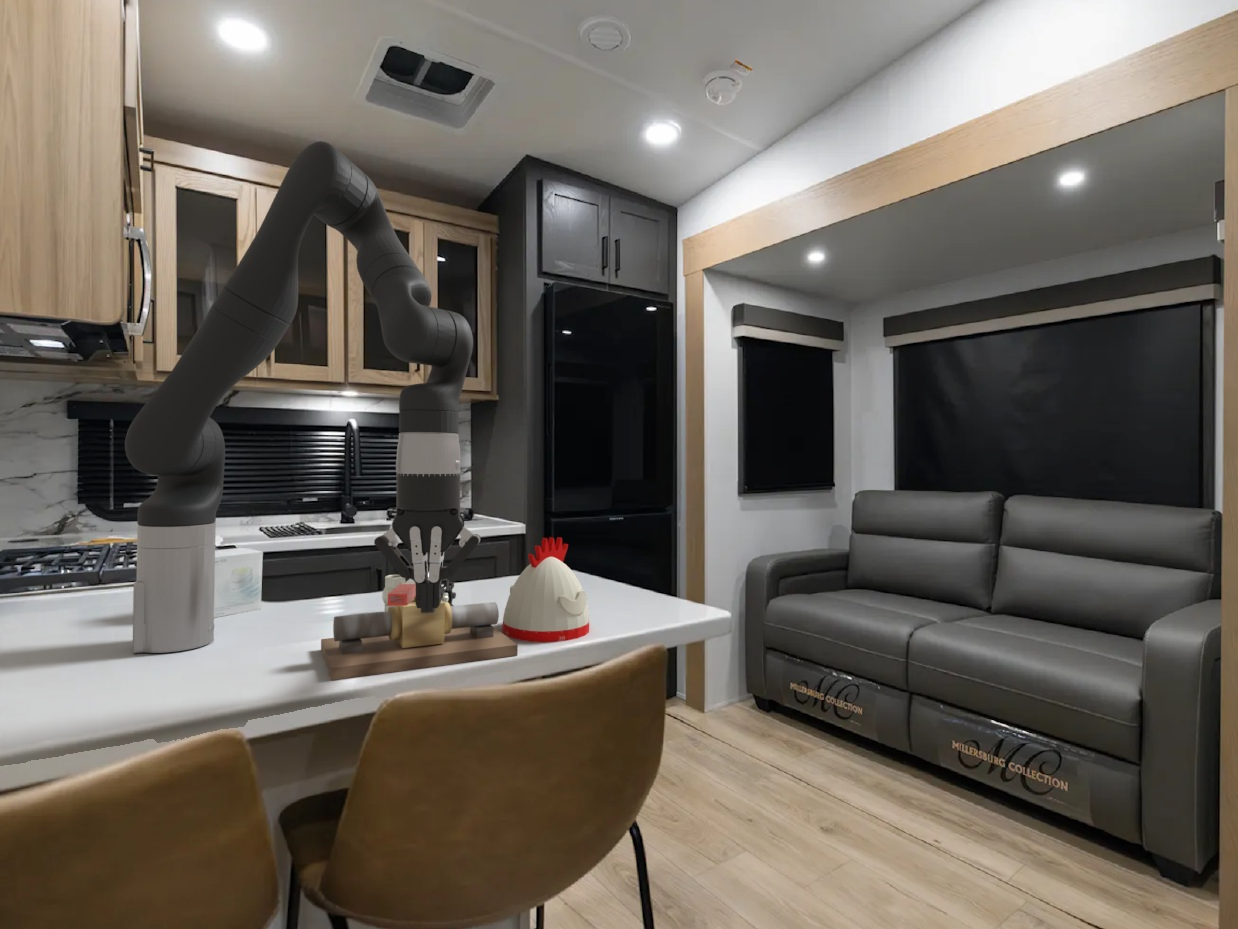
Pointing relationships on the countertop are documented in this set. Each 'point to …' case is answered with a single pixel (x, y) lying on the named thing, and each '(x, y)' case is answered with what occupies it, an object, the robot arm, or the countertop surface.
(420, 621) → the valve pipe
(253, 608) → the skincare box
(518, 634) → the kitchen timer
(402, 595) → the valve lever
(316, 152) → the robot arm
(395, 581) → the valve
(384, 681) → the countertop surface
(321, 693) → the countertop surface
